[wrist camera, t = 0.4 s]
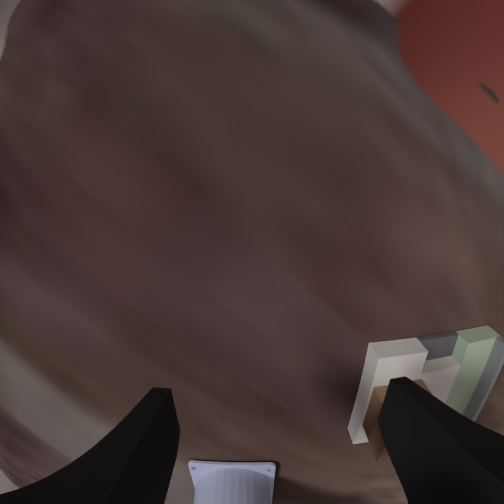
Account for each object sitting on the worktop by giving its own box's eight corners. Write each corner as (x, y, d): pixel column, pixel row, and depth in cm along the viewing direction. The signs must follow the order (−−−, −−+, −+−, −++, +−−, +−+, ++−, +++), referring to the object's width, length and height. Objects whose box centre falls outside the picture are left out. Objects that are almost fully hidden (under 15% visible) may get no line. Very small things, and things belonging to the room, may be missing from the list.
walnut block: (406, 416, 20) (425, 450, 16) (362, 424, 20) (376, 462, 16) (421, 378, 19) (445, 413, 15) (373, 387, 19) (393, 426, 15)
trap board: (456, 403, 22) (472, 425, 19) (347, 427, 22) (357, 457, 19) (487, 325, 20) (510, 344, 17) (368, 342, 20) (386, 372, 16)
